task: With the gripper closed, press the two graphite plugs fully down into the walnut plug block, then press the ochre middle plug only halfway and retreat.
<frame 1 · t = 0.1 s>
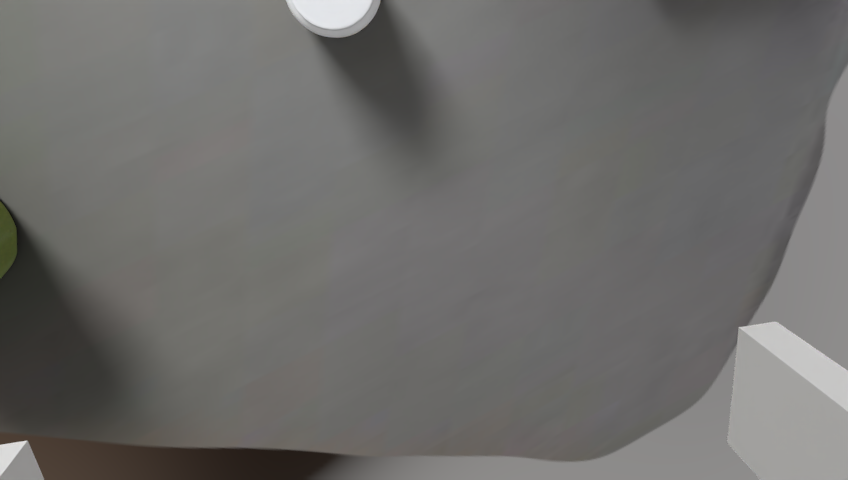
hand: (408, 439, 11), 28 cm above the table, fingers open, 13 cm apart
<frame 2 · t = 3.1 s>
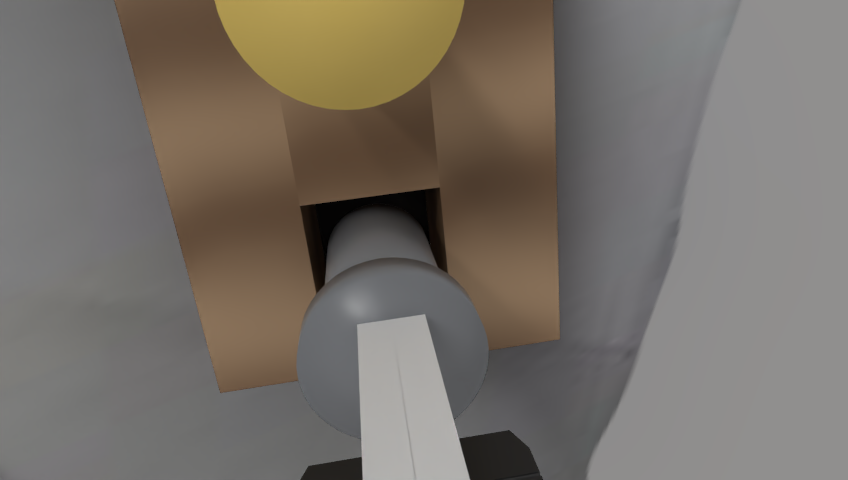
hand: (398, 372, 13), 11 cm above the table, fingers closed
graphite plug 1: (384, 296, 17), point 8 cm above the table, slide at 0.4 cm, touching gripper
walnut plug block: (342, 2, 21), on the table
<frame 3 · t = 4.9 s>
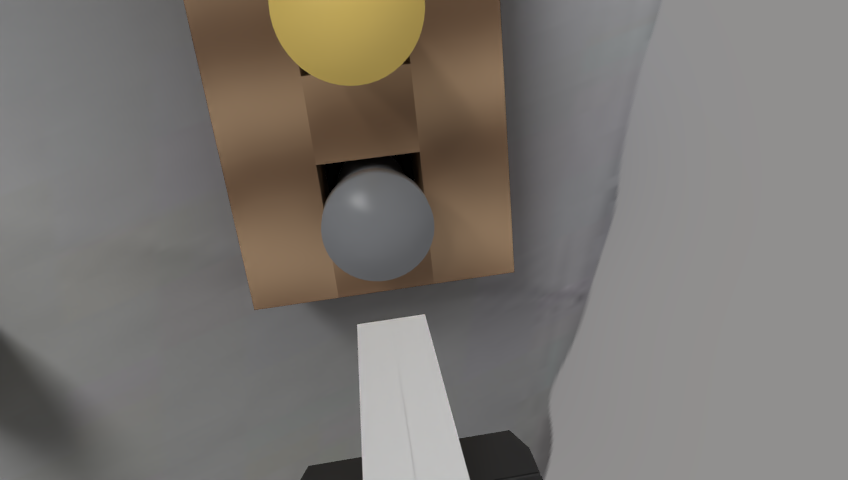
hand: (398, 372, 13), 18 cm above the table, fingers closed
ochre plug: (347, 9, 20), point 8 cm above the table, slide at 0.0 cm
graphite plug 1: (374, 203, 26), point 4 cm above the table, slide at 3.6 cm
walnut plug block: (347, 13, 27), on the table
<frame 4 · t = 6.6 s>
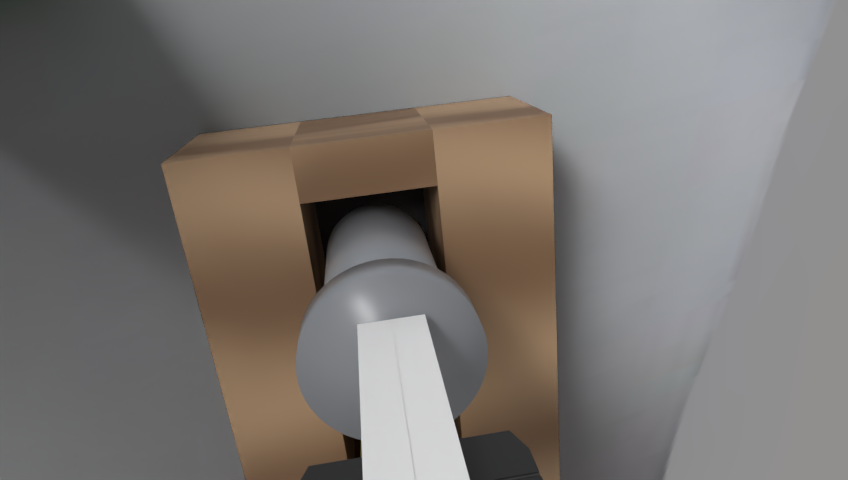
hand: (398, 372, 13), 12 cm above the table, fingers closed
walnut plug block: (394, 377, 27), on the table
graphite plug 2: (384, 297, 17), point 8 cm above the table, slide at 0.1 cm, touching gripper
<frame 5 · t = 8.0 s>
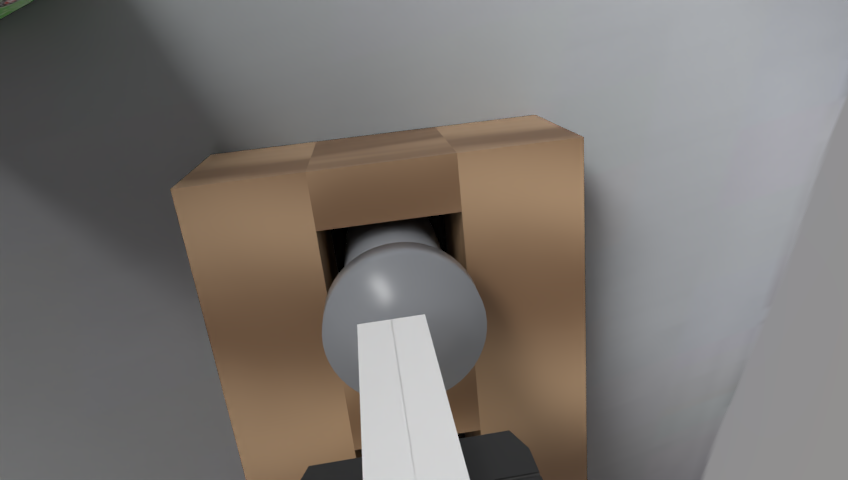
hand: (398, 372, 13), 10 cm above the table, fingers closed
walnut plug block: (411, 406, 26), on the table
graphite plug 2: (396, 280, 19), point 4 cm above the table, slide at 3.6 cm
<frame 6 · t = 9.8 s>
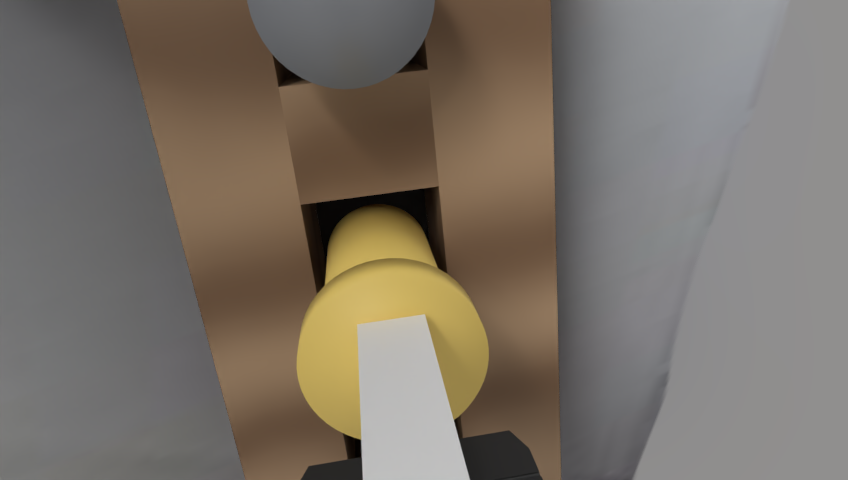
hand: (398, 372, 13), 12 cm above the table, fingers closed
ochre plug: (384, 296, 17), point 8 cm above the table, slide at 0.2 cm, touching gripper
graphite plug 1: (404, 442, 23), point 4 cm above the table, slide at 3.6 cm
walnut plug block: (372, 213, 24), on the table
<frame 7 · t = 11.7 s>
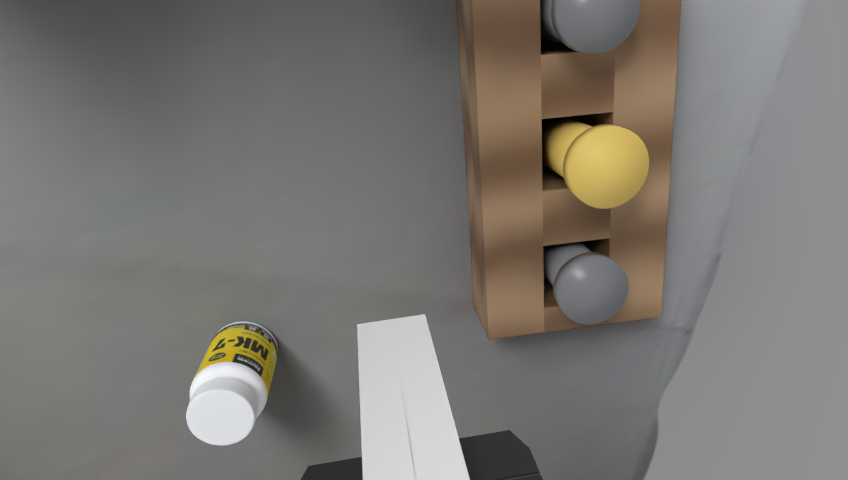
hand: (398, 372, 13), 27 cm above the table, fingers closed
ochre plug: (584, 156, 34), point 6 cm above the table, slide at 1.8 cm
supplement bottle: (245, 346, 43), on the table
graphite plug 1: (573, 270, 39), point 4 cm above the table, slide at 3.6 cm
walnut plug block: (551, 138, 40), on the table
graphite plug 2: (574, 11, 33), point 4 cm above the table, slide at 3.6 cm
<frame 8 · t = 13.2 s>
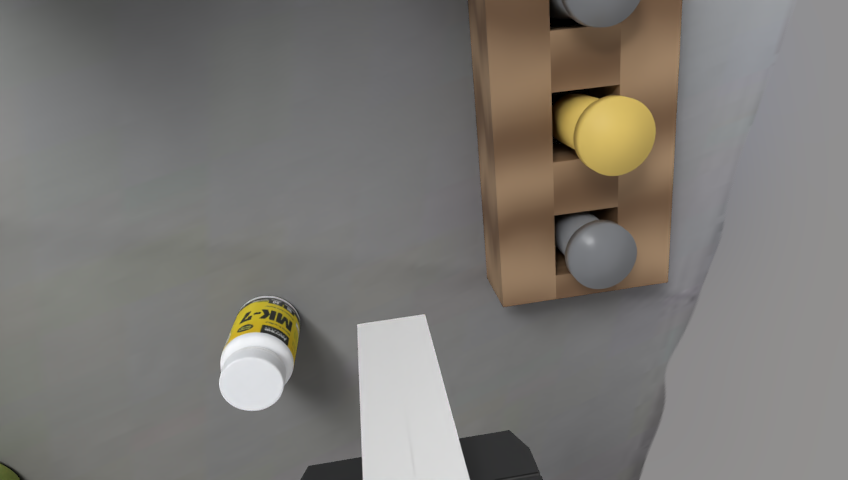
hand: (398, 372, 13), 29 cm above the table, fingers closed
ochre plug: (593, 127, 36), point 6 cm above the table, slide at 1.8 cm
supplement bottle: (269, 320, 45), on the table
graphite plug 1: (583, 238, 40), point 4 cm above the table, slide at 3.6 cm
walnut plug block: (559, 113, 42), on the table
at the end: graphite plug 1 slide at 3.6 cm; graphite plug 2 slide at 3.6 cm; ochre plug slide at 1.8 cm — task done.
